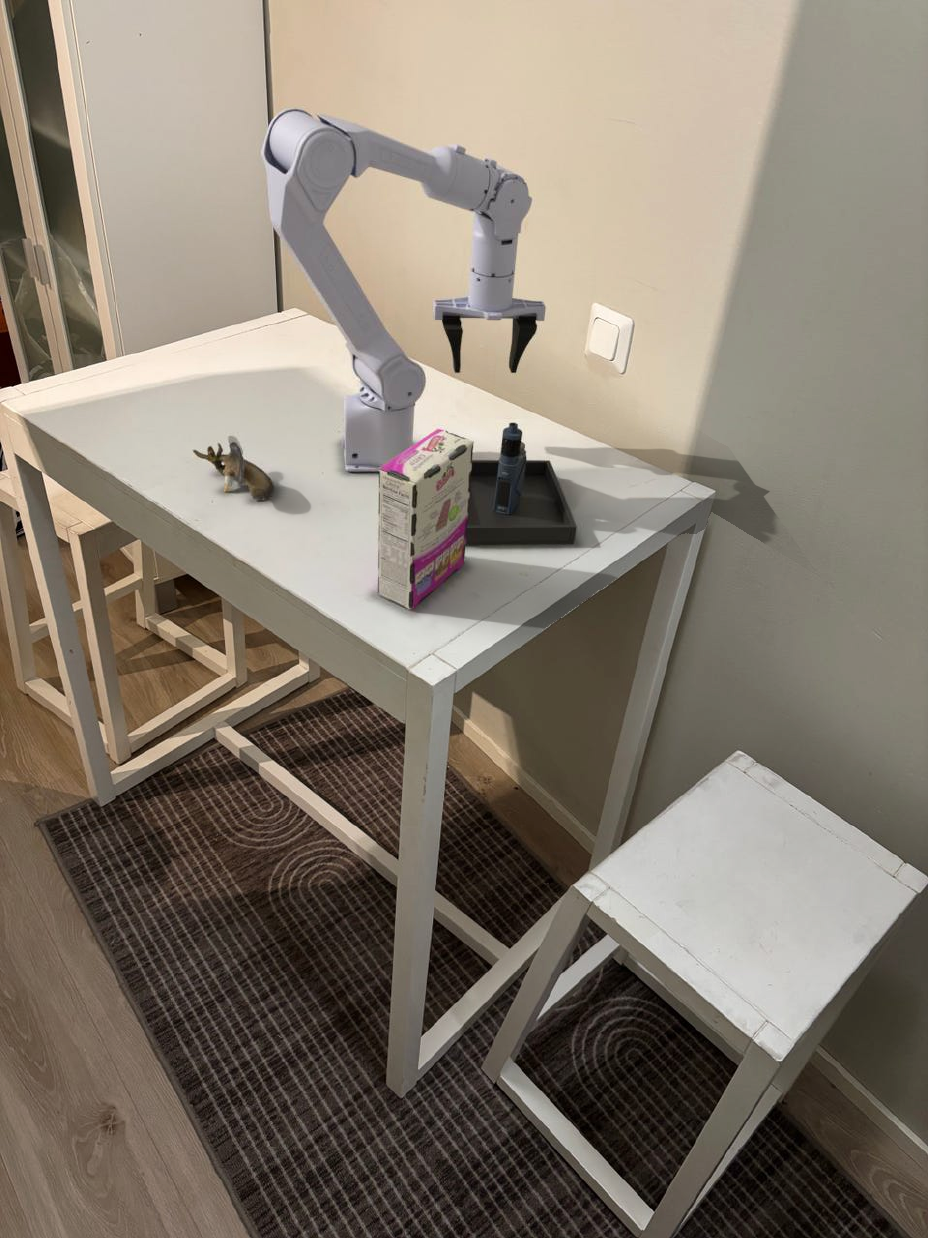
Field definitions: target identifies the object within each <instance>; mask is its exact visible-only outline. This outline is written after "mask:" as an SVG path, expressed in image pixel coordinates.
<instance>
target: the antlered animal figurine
mask: <svg viewBox="0 0 928 1238" xmlns="http://www.w3.org/2000/svg"><path fill="white" fill-rule="evenodd" d="M227 439H228V440H227V441H228V444H229V445H228V446H229V450H230V451H229V452H228V453H227V454H224V453H223V451H224V449H223V447H222V444H221V443H219V442H218V443H217V447H218V448H217V452H215V450H214V448H213V447H212V445H208V447H207V449H206V452H207V454H205V453H202V452H199V451H198V450H197V449H192V452H193V454H195V456H196V457H198V458H200V459H202V460H206V461H208V462H210V463H211V465H213V466H214V468H215V470H217V472H218V473H219V474H221V475H223V474H224V488H223V492H224V493H226V492H228V490H229V489H230V488H232V486H233V482H234V479H235V477H236V478H238V481H239V483H240V484H242V483H243V481H244V482H245V483H246V485H247V487H248V489H249V493H250V496H251V497H252V499H253V500H257V501H263V502H265V501H267V500H270V499H271V497H272V496H273V493H274V492H275V485H274V482H273V480H272V479H271V477H269V475H268V474H267V473H266V472H265V471H264V470H263V469H262V468H260V467H259V466H258V465H256V464H254V463H253V462H251V461H249V460H247V459H245V458H244V456H243V455H244V450H243V447H242V446H241V443H240V441H239V440H238V438H237V437H236V436H235V435H228V437H227ZM222 463H224V464H222Z"/></svg>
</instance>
